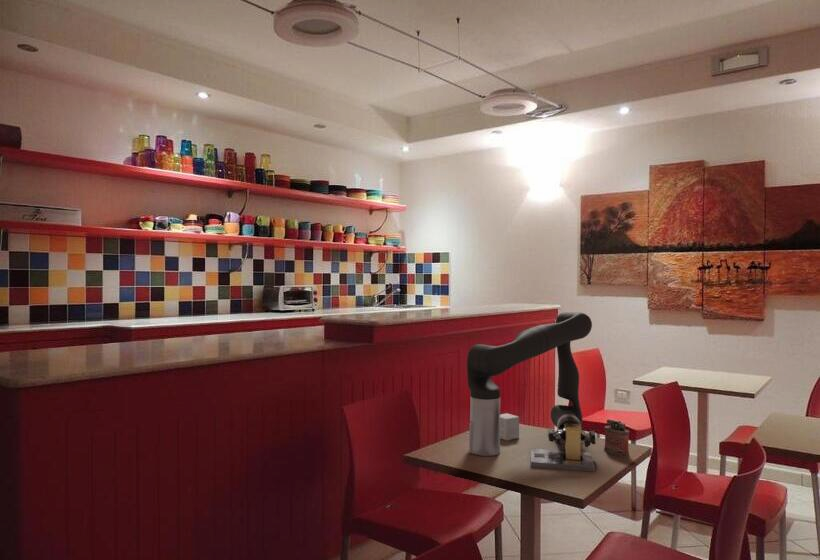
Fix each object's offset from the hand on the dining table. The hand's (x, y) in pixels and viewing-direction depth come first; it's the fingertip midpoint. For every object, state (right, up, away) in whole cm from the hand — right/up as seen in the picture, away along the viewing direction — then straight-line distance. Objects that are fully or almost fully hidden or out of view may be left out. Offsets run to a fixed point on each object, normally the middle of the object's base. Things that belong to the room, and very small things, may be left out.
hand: (573, 442), depth 165 cm
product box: (-14, -7, +29) cm, 33 cm away
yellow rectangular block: (0, -6, +2) cm, 7 cm away
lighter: (+17, -7, +12) cm, 22 cm away
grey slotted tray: (-3, -6, +3) cm, 8 cm away
